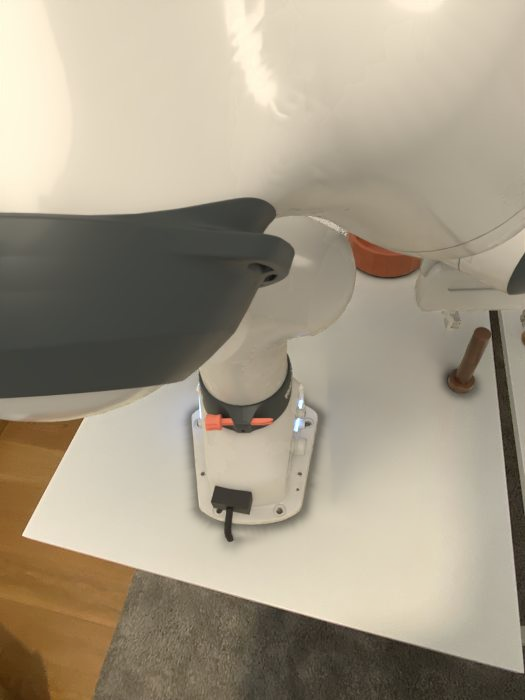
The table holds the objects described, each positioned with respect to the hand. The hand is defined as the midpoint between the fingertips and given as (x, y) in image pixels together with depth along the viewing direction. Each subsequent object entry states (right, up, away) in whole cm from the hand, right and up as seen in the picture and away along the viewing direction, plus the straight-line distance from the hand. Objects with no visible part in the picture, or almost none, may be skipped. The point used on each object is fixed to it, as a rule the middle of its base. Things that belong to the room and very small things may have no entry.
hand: (488, 323), depth 64 cm
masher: (+1, -8, +12) cm, 14 cm away
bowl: (-6, +15, +29) cm, 33 cm away
